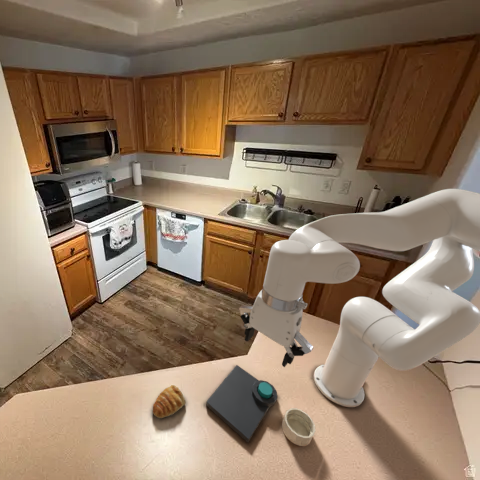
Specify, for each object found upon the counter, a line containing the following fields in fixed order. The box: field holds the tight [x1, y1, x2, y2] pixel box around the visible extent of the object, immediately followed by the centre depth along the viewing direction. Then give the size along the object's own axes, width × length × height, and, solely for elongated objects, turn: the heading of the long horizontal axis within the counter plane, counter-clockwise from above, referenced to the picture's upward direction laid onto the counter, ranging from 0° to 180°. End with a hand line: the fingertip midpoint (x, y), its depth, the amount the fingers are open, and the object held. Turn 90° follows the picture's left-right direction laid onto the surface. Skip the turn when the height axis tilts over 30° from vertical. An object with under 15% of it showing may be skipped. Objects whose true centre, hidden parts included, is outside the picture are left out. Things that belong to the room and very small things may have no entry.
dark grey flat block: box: [205, 364, 278, 444], centre depth 73 cm, size 16×14×4 cm
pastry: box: [152, 384, 187, 419], centre depth 73 cm, size 9×7×4 cm
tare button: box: [258, 382, 272, 398], centre depth 72 cm, size 4×4×2 cm
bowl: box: [281, 407, 316, 447], centre depth 66 cm, size 7×7×4 cm
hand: (266, 349), depth 63 cm, fingers open, 9 cm apart
